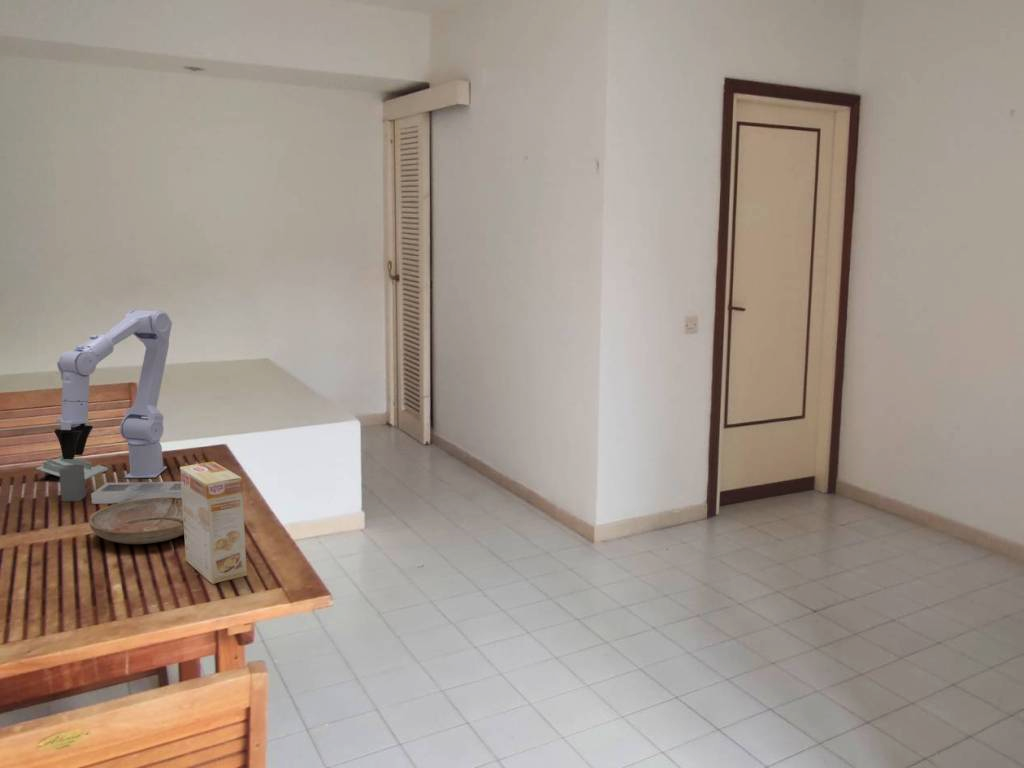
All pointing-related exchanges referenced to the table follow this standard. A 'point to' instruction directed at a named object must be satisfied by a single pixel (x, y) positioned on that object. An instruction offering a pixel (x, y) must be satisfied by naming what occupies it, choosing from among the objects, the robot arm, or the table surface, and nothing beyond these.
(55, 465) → the metal bracket
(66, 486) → the square peg
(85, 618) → the table surface
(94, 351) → the robot arm
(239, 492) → the coffeecake box
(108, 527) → the ceramic bowl
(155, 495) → the hole rail
